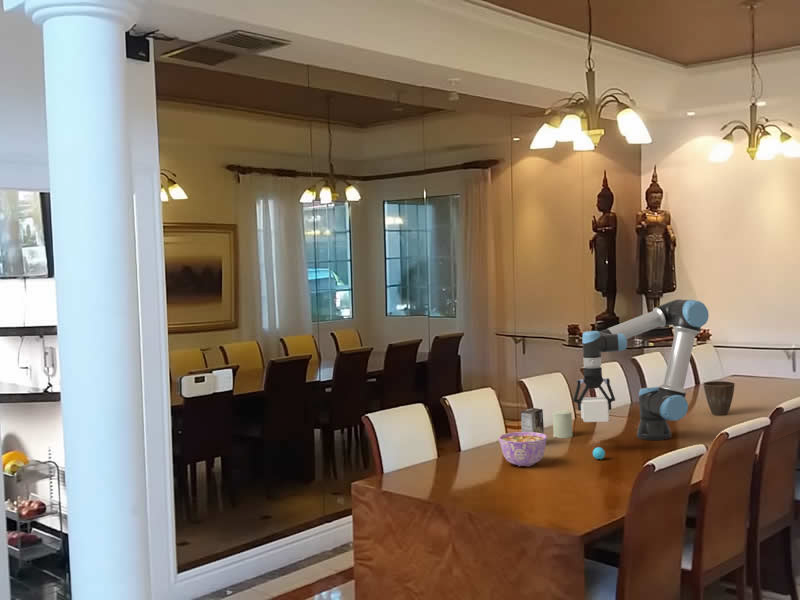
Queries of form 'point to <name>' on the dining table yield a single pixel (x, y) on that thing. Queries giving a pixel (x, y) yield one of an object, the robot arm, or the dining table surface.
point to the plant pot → (719, 396)
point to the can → (562, 424)
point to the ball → (598, 453)
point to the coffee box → (532, 420)
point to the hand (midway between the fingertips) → (595, 417)
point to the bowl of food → (523, 447)
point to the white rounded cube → (595, 409)
